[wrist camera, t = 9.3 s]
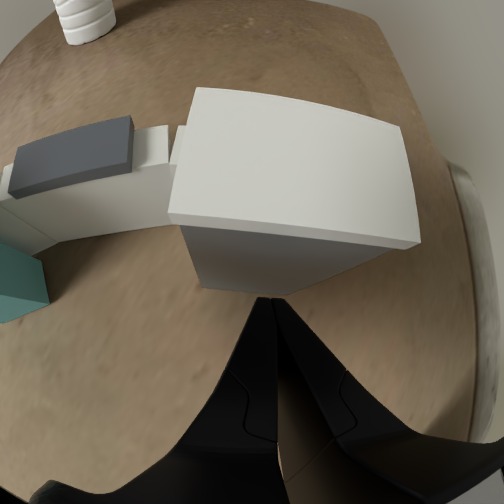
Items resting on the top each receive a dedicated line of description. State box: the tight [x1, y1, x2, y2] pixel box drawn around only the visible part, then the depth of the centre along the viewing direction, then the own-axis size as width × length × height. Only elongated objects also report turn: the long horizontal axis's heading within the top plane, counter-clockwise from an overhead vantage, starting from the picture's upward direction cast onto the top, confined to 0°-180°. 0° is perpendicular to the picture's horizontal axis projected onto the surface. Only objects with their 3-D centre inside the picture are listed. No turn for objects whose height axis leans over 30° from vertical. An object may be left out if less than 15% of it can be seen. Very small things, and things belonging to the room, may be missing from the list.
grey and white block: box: [168, 87, 421, 295], centre depth 11 cm, size 3×5×12 cm, turn 86°
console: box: [0, 115, 186, 256], centre depth 13 cm, size 26×4×8 cm, turn 99°
